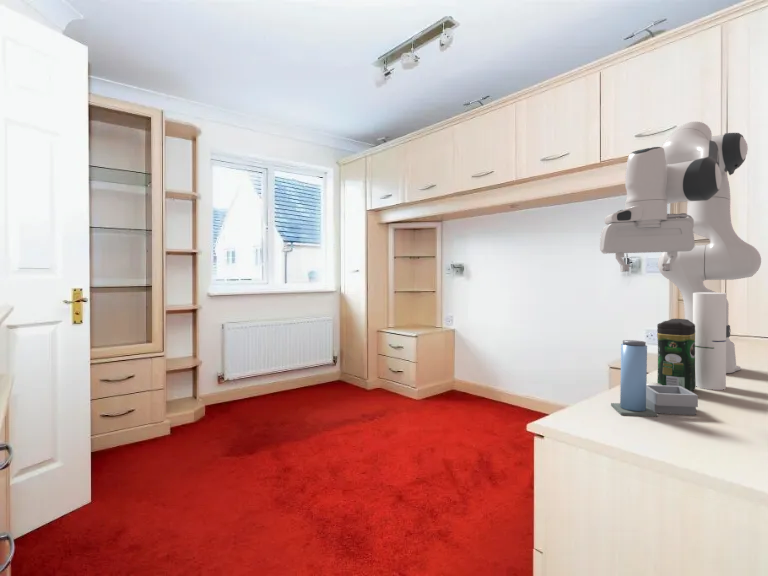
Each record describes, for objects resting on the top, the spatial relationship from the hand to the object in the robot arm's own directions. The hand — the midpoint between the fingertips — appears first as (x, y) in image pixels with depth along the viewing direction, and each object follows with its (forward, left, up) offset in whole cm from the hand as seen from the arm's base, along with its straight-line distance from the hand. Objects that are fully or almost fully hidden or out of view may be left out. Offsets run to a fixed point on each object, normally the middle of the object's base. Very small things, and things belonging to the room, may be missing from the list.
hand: (645, 271), depth 107 cm
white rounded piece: (+2, +1, -31) cm, 31 cm away
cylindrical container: (-13, +20, -31) cm, 39 cm away
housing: (+6, +1, -31) cm, 32 cm away
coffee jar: (-8, +10, -31) cm, 34 cm away
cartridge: (+13, -7, -30) cm, 34 cm away
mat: (+13, -7, -31) cm, 34 cm away
